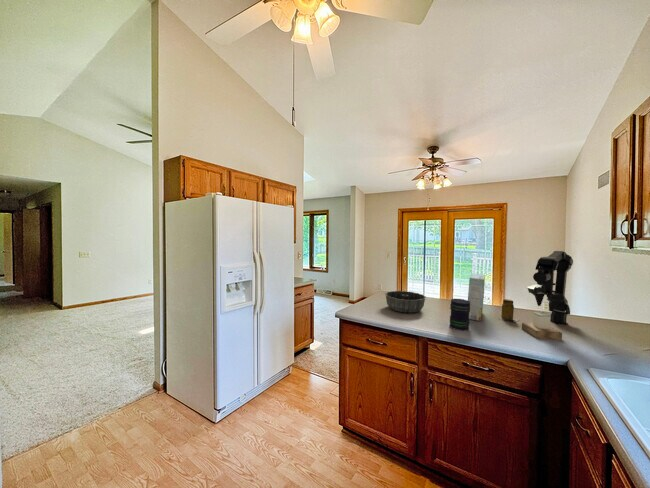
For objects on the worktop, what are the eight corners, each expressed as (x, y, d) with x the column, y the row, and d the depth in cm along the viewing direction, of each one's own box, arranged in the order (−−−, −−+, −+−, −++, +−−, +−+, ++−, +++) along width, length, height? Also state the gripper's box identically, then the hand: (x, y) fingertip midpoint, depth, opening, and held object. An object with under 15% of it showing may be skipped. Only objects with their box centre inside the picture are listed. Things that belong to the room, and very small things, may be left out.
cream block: (542, 325, 141) (543, 312, 141) (550, 329, 136) (550, 315, 136) (532, 325, 142) (533, 312, 141) (539, 328, 137) (540, 315, 136)
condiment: (502, 316, 167) (503, 298, 166) (518, 320, 161) (519, 301, 160) (498, 318, 163) (499, 299, 162) (514, 322, 156) (516, 303, 155)
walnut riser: (545, 331, 144) (546, 324, 144) (561, 340, 132) (562, 332, 132) (521, 329, 146) (522, 322, 146) (535, 338, 134) (536, 330, 134)
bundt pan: (379, 304, 190) (380, 290, 190) (414, 303, 193) (414, 290, 193) (392, 316, 164) (393, 300, 163) (432, 315, 167) (433, 299, 166)
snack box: (482, 322, 156) (484, 279, 155) (465, 319, 161) (468, 277, 159) (483, 312, 175) (485, 274, 173) (468, 310, 179) (470, 272, 178)
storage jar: (446, 327, 147) (448, 300, 146) (452, 322, 154) (453, 297, 153) (466, 332, 140) (467, 304, 139) (471, 327, 147) (472, 301, 146)
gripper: (519, 276, 153) (518, 303, 154) (542, 284, 134) (540, 313, 136) (540, 277, 152) (539, 303, 153) (566, 284, 133) (564, 314, 134)
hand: (544, 308), depth 144 cm, fingers open, 9 cm apart
